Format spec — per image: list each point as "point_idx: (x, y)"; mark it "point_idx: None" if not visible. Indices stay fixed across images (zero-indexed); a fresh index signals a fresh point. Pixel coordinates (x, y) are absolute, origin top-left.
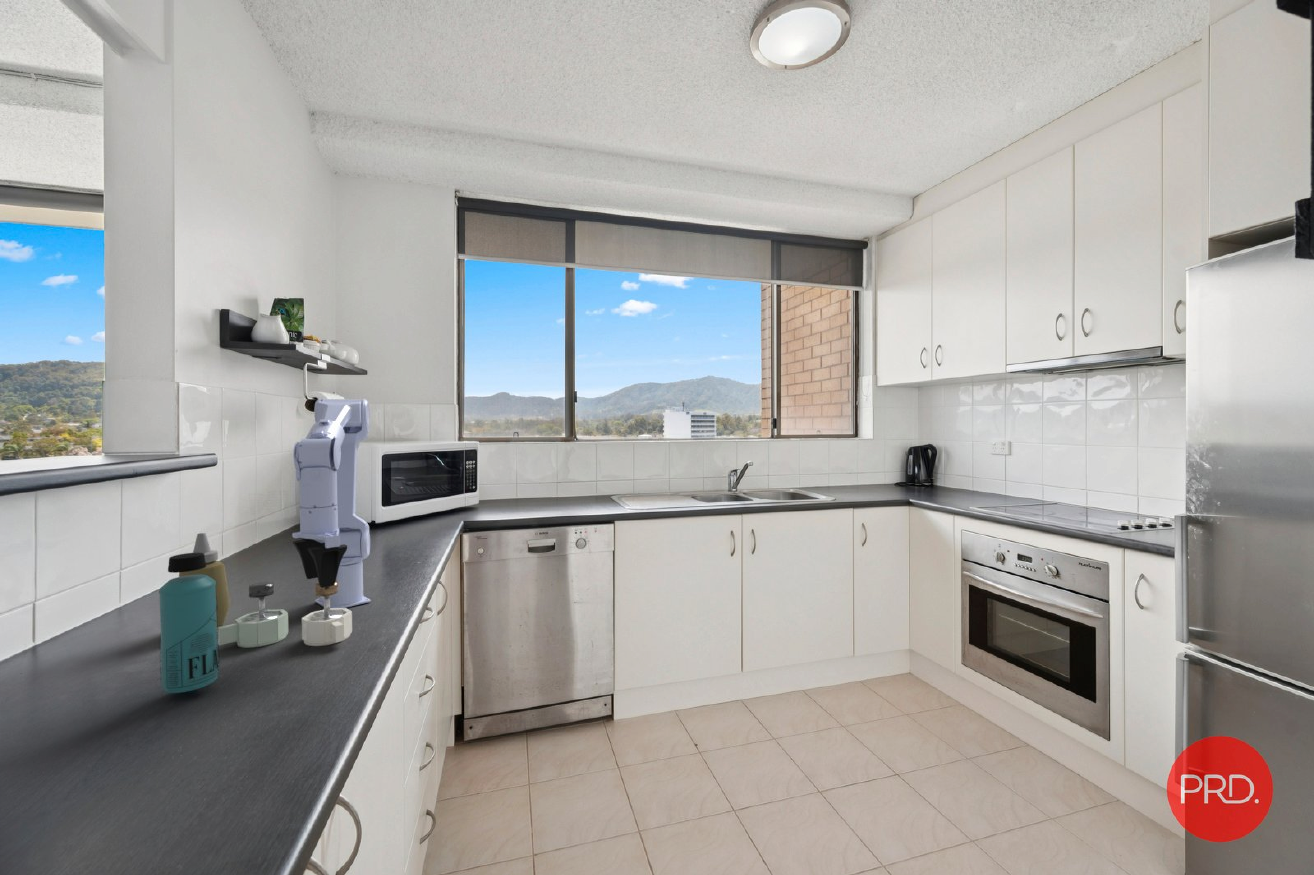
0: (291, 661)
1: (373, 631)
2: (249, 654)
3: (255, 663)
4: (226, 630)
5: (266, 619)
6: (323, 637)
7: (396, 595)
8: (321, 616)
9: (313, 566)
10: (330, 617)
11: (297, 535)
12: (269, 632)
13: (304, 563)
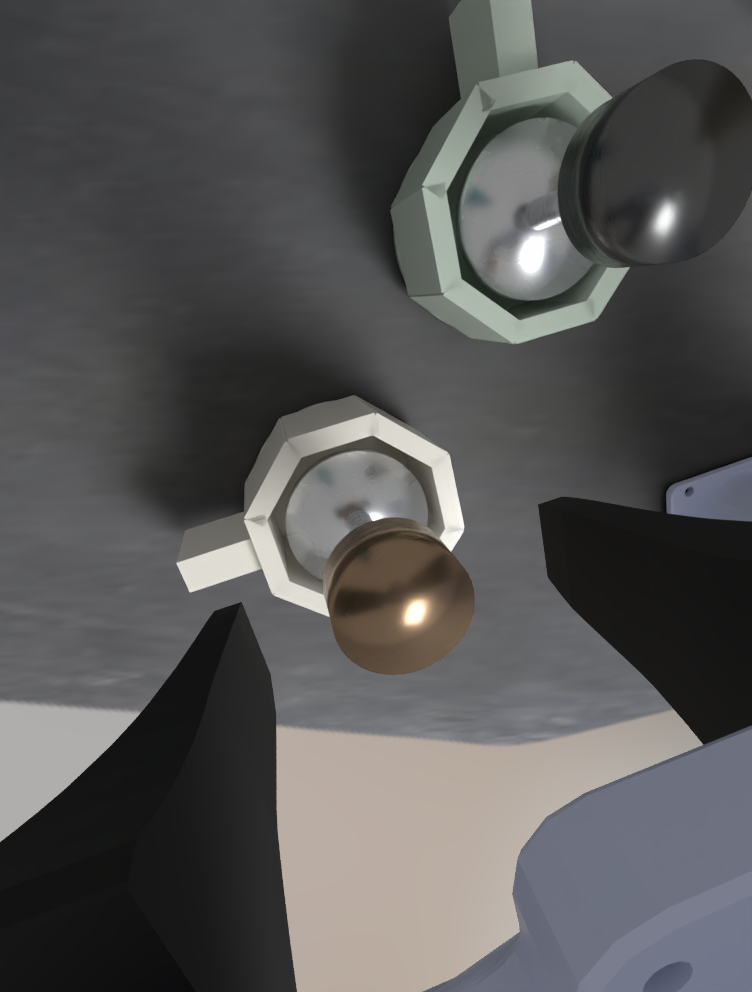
0: (111, 356)
1: (323, 637)
2: (311, 175)
3: (163, 204)
4: (484, 20)
5: (483, 237)
6: (247, 486)
7: None
8: (366, 498)
9: (602, 581)
10: (321, 537)
11: (566, 966)
12: (413, 257)
13: (628, 535)
